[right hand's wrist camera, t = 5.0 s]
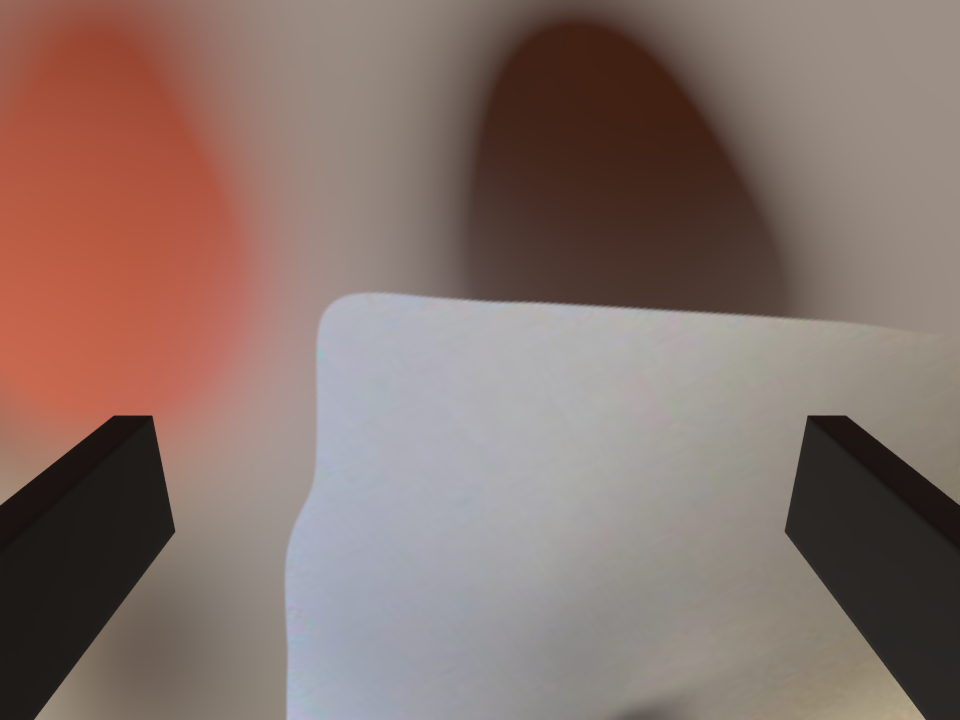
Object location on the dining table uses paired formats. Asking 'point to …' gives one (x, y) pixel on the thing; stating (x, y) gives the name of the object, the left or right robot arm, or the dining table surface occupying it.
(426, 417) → the dining table surface
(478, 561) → the dining table surface
